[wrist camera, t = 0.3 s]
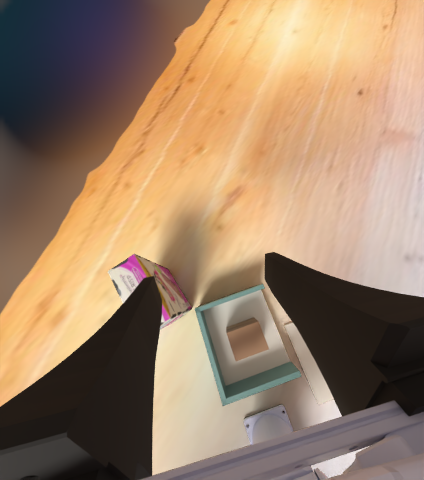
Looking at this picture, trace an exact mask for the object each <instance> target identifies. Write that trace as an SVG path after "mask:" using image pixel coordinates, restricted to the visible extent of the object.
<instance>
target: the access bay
mask: <svg viewBox="0 0 424 480" xmlns="http://www.w3.org/2000/svg"><path fill="white" fill-rule="evenodd" d="M261 289H264V285H263V284H261V285H256V286H254V287H251V288H248V289H245V290H242V291H240V292H237V293H234V294H231V295H229V296H226V297H223V298H220V299H217V300H215V301H212V302H209V303H206V304H204V305H201V306H198V307H197V308H195V311H196V315H197V318H198V322H199V325H200V329H201V332H202V336H203V339H204V342H205V346H206V349H207V353H208V356H209V360H210V363H211V367H212V370H213V373H214V377H215V380H216V384H217V387H218V391H219V394H220V398H221V401H222V405H223V406H225V405H227V404H230V403H232V402H235V401H238V400H240V399H243V398H246V397H248V396H251V395H254V394H256V393H259V392H261V391H264V390H267V389H269V388H272V387H275V386H277V385H280V384H283V383H285V382H288V381H291V380H293V379H296V378H298V377H301V373H300V371H299V370H298V369H297V368H296V367H295V366H294V365H293V363H292V362H291V361H290V359H289V356H288V354H287V351H286V349H285V347H284V344H283V342H282V339H281V337H280V334H279V332H278V330H277V327H276V325H275V322H274V320H273V317H272V315H271V313H270V310H269V308H268V305H267V303H266V301H265V298H264V296H263V293H262V291H261ZM253 317H254V318H255V319H256V320H258V321H259V324H260V326H261V329H262V332H263V334H264V337H265V339H266V342H267V345H268V347H269V349H268V350H266V351H263V352H260V353H258V354H255V355H252V356H249V357H247V358H244V359H241V360H239V361H235V358H234V355H233V352H232V349H231V346H230V343H229V340H228V336H227V333H226V327H229V326H231V325H234V324H237V323H240V322H242V321H245V320H248V319H250V318H253Z"/></svg>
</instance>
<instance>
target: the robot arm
mask: <svg viewBox="0 0 424 480" xmlns="http://www.w3.org/2000/svg"><path fill="white" fill-rule="evenodd" d="M265 280H266V282H267V284H268V286H269V288H270V290H271V292H272V293H273V295H274V296H275V298H276V299H277V300H278V302H279V303H280V305H281V306H282V307H283V309H284V310H285V312H286V313H287V315H288V316H289V317H290V319H291V320H292V322H293V323H294V325H295V326H296V328H297V330H298V331H299V333H300V335H301V337H302V338H303V340H304V342H305V343H306V345H307V347H308V349H309V351H310V353H311V355H312V356H313V358H314V360H315V362H316V364H317V366H318V368H319V370H320V372H321V374H322V376H323V378H324V379H325V381H326V383H327V386H328V388H329V390H330V392H331V394H332V396H333V398H334V400H335V402H336V404H337V406H338V408H339V411H340V413H341V415H342V417H339V418H336V419H333V420H330V421H326V422H323V423H320V424H317V425H314V426H310V427H307V428H304V429H301V430H298V431H293V428H292V426H291V423H290V420H289V418H288V415H287V412H286V410H285V407H284V406H283V405H278V406H276V407H273V408H271V409H268V410H265V411H263V412H260V413H258V414H255V415H252V416H250V417H247V418H245V419H244V425H245V428H246V431H247V434H248V438H249V441H250V444H251V445H249V446H246V447H243V448H240V449H237V450H233V451H230V452H227V453H224V454H220V455H217V456H214V457H211V458H208V459H204V460H201V461H198V462H195V463H192V464H188V465H185V466H182V467H179V468H176V469H172V470H169V471H166V472H163V473H160V474H156V475H153V476H152V425H153V394H154V374H155V360H156V352H157V345H158V339H159V332H160V326H161V319H162V298H161V295H160V292H159V289H158V286H157V283H156V280H155V277H154V276H151V277H146V278H143V280H142V281H141V282H140V283H139V285H138V286H137V287H136V288H135V290H134V291H133V292H132V293H131V295H130V296H129V297H128V298H127V300H126V301H125V302H124V303H123V304H122V305H121V307H120V308H119V309H118V310H117V311H116V312H115V313H114V314H113V316H112V317H111V318H110V319H109V320H108V321H107V322H106V323H105V324H104V325H103V326H102V327H101V328H100V329H99V330H98V331H97V332H96V333H95V334H94V335H93V336H92V337H90V338H89V339H88V340H87V341H86V342H85V343H84V344H82V345H81V346H80V347H79V348H78V349H77V350H76V351H74V352H73V353H72V354H71V355H70V356H69V357H67V358H66V359H65V360H64V361H62V362H61V363H60V364H59V365H57V366H56V367H55V368H53V369H52V370H51V371H50V372H48V373H47V374H46V375H44V376H43V377H42V378H40V379H39V380H38V381H36V382H35V383H34V384H32V385H31V386H29V387H28V388H27V389H25V390H24V391H22V392H21V393H19V394H18V395H17V396H15V397H14V398H12V399H11V400H9V401H8V402H7V403H5V404H4V405H2V406H1V407H0V480H424V297H418V296H411V295H405V294H399V293H394V292H389V291H384V290H379V289H375V288H371V287H367V286H363V285H359V284H355V283H351V282H348V281H345V280H341V279H338V278H335V277H332V276H329V275H326V274H324V273H321V272H319V271H316V270H314V269H311V268H309V267H306V266H304V265H302V264H300V263H297V262H295V261H293V260H291V259H289V258H287V257H284V256H282V255H280V254H278V253H275V252H272V253H267V254H265ZM282 411H284V413H283V412H282ZM247 424H248V425H249V426H246V425H247ZM368 446H369V447H368ZM365 447H368V448H366V449H364V450H362V451H360V452H358V453H356V459H355V461H354V462H353V463H352V465H351V466H350V467H349V468H347V469H346V470H345V471H344V472H343V474H342V475H338V476H335V477H331V478H327V476H326V475H325V474H324V473H323V472H321V471H320V470H319V469H318V468H316V469H314V472H313V470H312V468H311V465H314V464H317V463H320V462H323V461H326V460H329V459H332V458H335V457H338V456H341V455H344V454H347V453H350V452H353V451H356V450H359V449H362V448H365Z"/></svg>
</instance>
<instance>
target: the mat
mask: <svg viewBox="0 0 424 480" xmlns="http://www.w3.org/2000/svg"><path fill="white" fill-rule="evenodd" d="M284 326H285V329H286V331H287V333H288V336H289V338H290V340H291V343H292V345H293V348H294V350H295V352H296V355H297V357H298V359H299V362H300V364H301V366H302V369H303V371H304V373H305V376H306V378H307V380H308V383H309V385H310V387H311V390H312V392H313V394H314V397H315V399H316V402H317V404H318V405H321V404H324V403H326V402H329V401H331V400H334V398H333V396H332V394H331V392H330V390H329V388H328V386H327V383H326V381H325V379H324V378H323V376H322V374H321V372H320V370H319V368H318V366H317V364H316V362H315V360H314V358H313V356H312V355H311V353H310V351H309V349H308V347H307V345H306V343H305V342H304V340H303V338H302V337H301V335H300V333H299V331H298V330H297V328H296V326H295V325H294V323H293V322H292V323H289V324H286V325H284Z"/></svg>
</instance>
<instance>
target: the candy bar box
mask: <svg viewBox="0 0 424 480" xmlns="http://www.w3.org/2000/svg"><path fill="white" fill-rule="evenodd" d="M108 273H109V275H110V277H111V279H112V281H113V283H114V286H115V288H116V290H117V292H118V294H119V296H120V298H121V300H122V302H123V303H124V302H125V301H126V300H127V298H128V297H129V296H130V295H131V293H132V292H133V291H134V290H135V288H136V287H137V286H138V285H139V283H140V282H141V281H142V280H143V278H146V277H151V276H154V277H155V280H156V283H157V286H158V289H159V292H160V295H161V298H162V319H161V326H160V329H162V328H164V327H166V326H168V325H169V324H171V323H173V322H175V321H176V320H178V319H179V318H180V317H182V316H183V315H185V314H186V313H187V312H189V311H190V310H191V309H192V307H191V306H190V304H189V302H188V301H187V299H186V298H185V296H184V294H183V293H182V291H181V290H180V288H179V286H178V285H177V283H176V281H175V280H174V278H173V277H172V275H171V273H170V272H169V270H168V269H167V268H165V267H163V266H160V265H158V264H156V263H153V262H151V261H149V260H147V259H145V258H143V257H140V256H138V255H136V254H133V255H132V256H130V257H129V258H127V259H126V260H125V261H123V262H121V263H120V264H118V265H117V266H115V267H114V268H112V269H111V270H109V271H108Z"/></svg>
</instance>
